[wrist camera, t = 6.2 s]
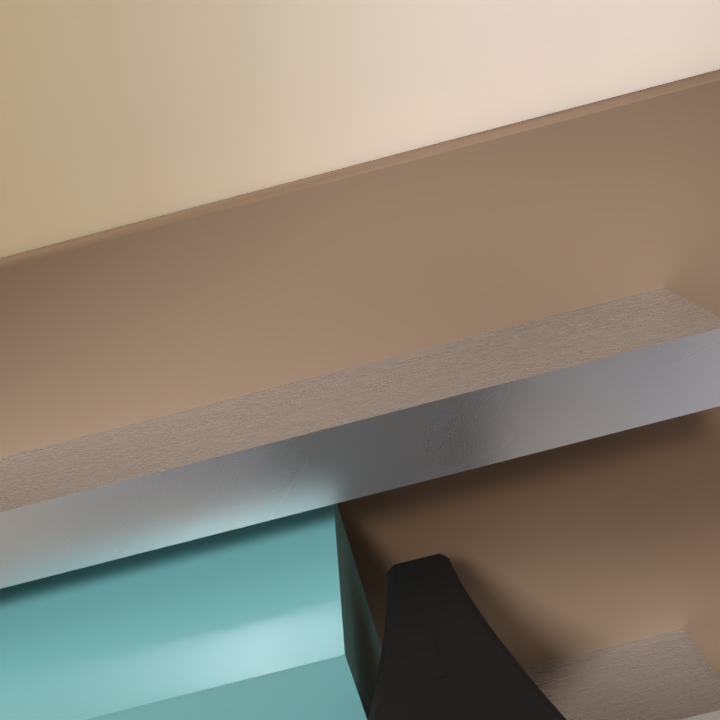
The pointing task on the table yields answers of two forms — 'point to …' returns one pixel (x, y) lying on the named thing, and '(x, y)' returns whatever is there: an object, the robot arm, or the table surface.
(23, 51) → the table surface
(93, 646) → the plug
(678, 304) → the grey slab
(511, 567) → the base board
